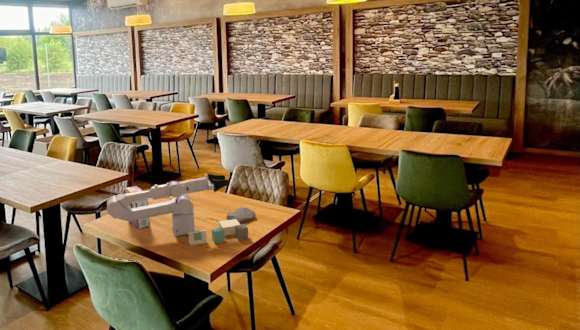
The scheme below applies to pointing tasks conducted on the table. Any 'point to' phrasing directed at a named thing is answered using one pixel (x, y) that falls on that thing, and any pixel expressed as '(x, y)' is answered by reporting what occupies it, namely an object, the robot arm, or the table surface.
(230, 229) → the cream base block
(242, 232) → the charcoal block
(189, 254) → the table surface
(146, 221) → the candy box
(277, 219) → the table surface
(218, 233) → the teal block
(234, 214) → the stone block
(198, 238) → the placard
